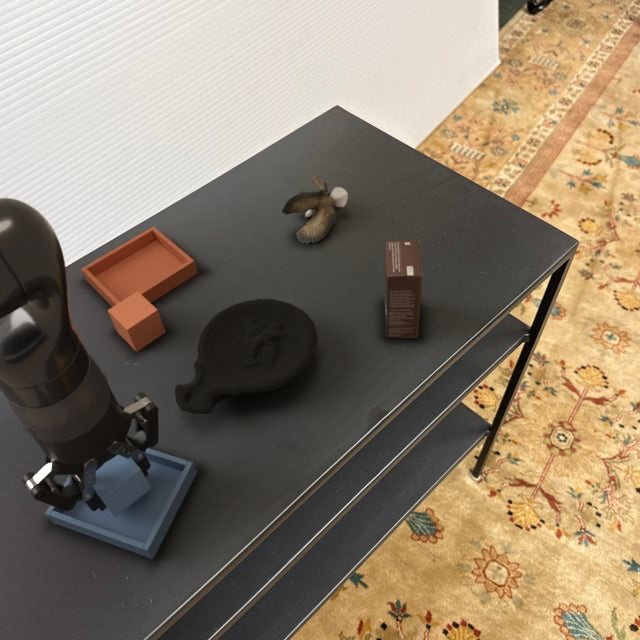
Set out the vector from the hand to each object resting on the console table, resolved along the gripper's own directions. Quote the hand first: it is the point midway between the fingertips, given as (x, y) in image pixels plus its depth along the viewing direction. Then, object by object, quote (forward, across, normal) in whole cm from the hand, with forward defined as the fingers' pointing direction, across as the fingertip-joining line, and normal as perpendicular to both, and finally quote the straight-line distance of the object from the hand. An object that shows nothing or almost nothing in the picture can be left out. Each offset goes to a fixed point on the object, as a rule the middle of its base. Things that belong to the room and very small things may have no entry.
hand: (120, 487), depth 69 cm
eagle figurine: (+3, -45, -17) cm, 48 cm away
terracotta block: (+3, -14, -18) cm, 23 cm away
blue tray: (+3, 0, 0) cm, 3 cm away
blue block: (0, 0, 0) cm, 0 cm away
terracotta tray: (+3, -20, -27) cm, 34 cm away
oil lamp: (+3, -20, -3) cm, 20 cm away
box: (+3, -39, +5) cm, 40 cm away
